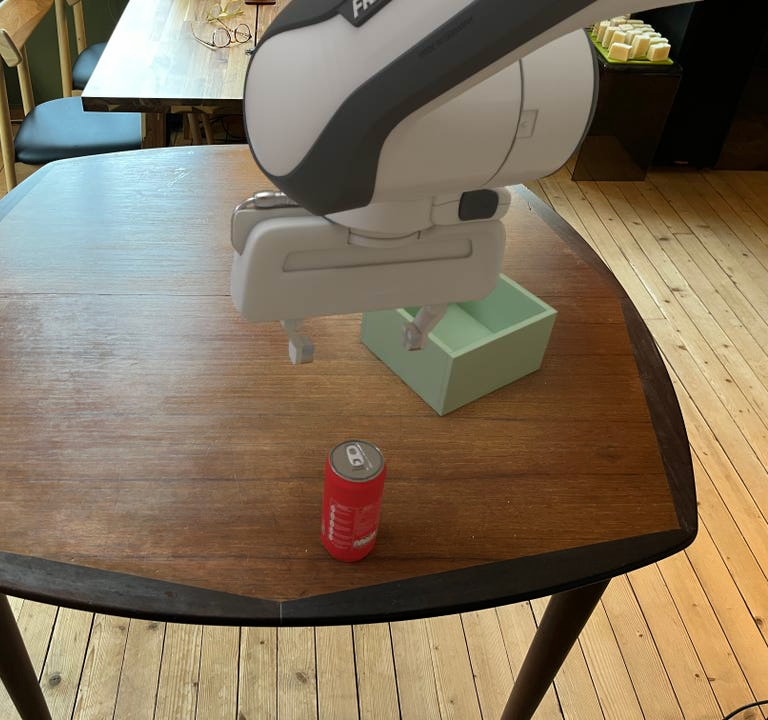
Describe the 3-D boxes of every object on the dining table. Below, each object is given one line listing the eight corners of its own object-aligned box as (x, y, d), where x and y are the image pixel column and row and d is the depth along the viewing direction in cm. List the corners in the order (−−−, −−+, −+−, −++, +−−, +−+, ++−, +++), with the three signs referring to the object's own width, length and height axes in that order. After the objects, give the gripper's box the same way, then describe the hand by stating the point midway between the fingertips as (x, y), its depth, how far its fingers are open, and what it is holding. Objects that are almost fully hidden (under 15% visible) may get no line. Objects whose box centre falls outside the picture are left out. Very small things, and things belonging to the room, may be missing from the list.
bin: (539, 369, 89) (558, 311, 83) (441, 416, 83) (453, 358, 77) (453, 302, 99) (464, 246, 93) (359, 340, 93) (365, 283, 87)
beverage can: (328, 571, 68) (335, 488, 60) (314, 525, 71) (319, 442, 64) (382, 560, 69) (395, 477, 61) (364, 515, 72) (375, 432, 64)
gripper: (242, 211, 45) (237, 392, 53) (533, 194, 50) (490, 361, 58) (221, 175, 50) (219, 345, 58) (487, 163, 55) (453, 320, 63)
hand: (357, 353), depth 58 cm, fingers open, 8 cm apart
